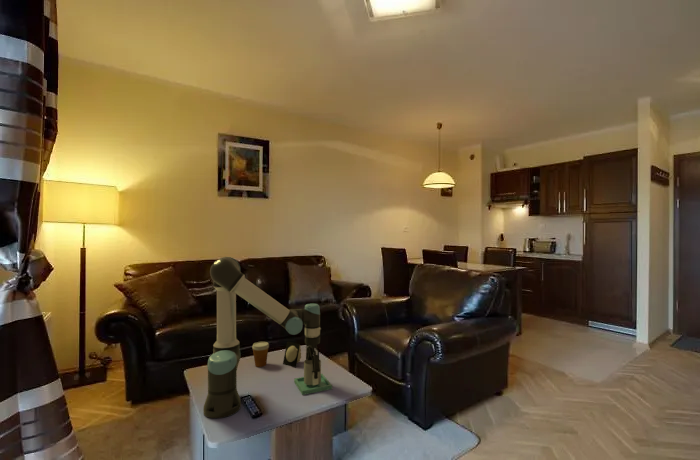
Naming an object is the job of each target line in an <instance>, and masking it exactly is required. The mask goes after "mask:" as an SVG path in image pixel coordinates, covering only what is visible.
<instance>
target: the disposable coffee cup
mask: <svg viewBox="0 0 700 460" xmlns="http://www.w3.org/2000/svg"><path fill="white" fill-rule="evenodd" d="M251 348H252V351H253V359H254V366H255V367H256V368H262V367H265V366H267V362H268V355H269V354H268V353H269V348H270V344H269V342H267V341H258V342H254V343H253V344H252V346H251Z"/></svg>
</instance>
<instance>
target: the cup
mask: <svg viewBox="0 0 700 460" xmlns="http://www.w3.org/2000/svg"><path fill="white" fill-rule="evenodd" d="M319 363H320V372H318V384H319V383H320V382H321V374H322V360H321V359H320V358H319ZM312 371H313V364H312V360H308V359H307V360H306V359H305V360H304V361H303V377H304V383H305V384H307V385H312Z"/></svg>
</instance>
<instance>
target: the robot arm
mask: <svg viewBox="0 0 700 460" xmlns="http://www.w3.org/2000/svg"><path fill="white" fill-rule="evenodd" d="M240 265H241V264H240V263H239V262H238V261H237V259H235V258H234V257H230V256H224V257H220V258H219V259H218V260H215V261H214V262H213V263H212V264H211V266H210V270H209V274H210V275H209V276H210V278H211V280H212V281H213V282H212V285H213V289H215V290H216V341H215V342H214V343H213V345H212V346H213V349H212V351H213V353H212V354H211V355H209V357H208V360H207V395H206V398H205V402H204V404H203V410H202V411H203V416H205V418H210V419H223V418H227V417H230V416H233V415H234V414H236V413H237V412H239V410H241V407H242V406H241V405H242V401H241V397H240V395H239V391H238V388H237V387H238V386H237V382H238V381H237V376H238V375H237V373H238V372H237V370H238V366H239V364H240V360H241V357H242V356H241V350H240V341H239V340H238V338H237V302H236V301H237V296H239V297H240V298H241V299H243V300H245V301H246V302H247V303H249V304H250V305H252V306H253V307H254V308H256V309H257V310H258V311H260V312H262V314H264V315H266V316H267V317H269V318H270V319H271V320H273V321H274V322H276V323H277V324H278V325H280V326H281V327H283V329H285V330H286V332H287V333H288V334H289V335H293V336H295V335H298V334H299V333H301V331H302V330H303V325H304V344H305V345H306V346H305V347H306V348H305V360H307V359H308V360H312V364H313V371H312V385H318V372H320V363H319V359H320V350H318V345H319V344H320V343H321V330H322V328H321V311H320V310H321V309H320V308H321V307H320V305H319V304H318V303H307V304H305V305H304V308H299V309H298V308H297V309H296V308H295V309H293V308H291V309H288V308H287V307H286V306H284V305H283V304H281V303H280V302H279V301H277V300H276V299H275V298H273V297H272V296H271V295H269V294H267V293H266V292H265V291H264V290H262V289H261V288H260V287H258V286H257V285H255V284H254V283H252V282H251V281H250V280H248V279H247V278H246V276H245V274H244V273H243V272H241V266H240Z"/></svg>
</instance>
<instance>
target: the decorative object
mask: <svg viewBox="0 0 700 460" xmlns="http://www.w3.org/2000/svg"><path fill="white" fill-rule="evenodd" d="M301 359H302V347H301V344H300V343H295V342H293V341H292V342H291V341H286V345H285V350H284V356H283V362H282V365H285V366H288V367H292V368H297V364H298V363H299V362H300V361H301Z"/></svg>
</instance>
